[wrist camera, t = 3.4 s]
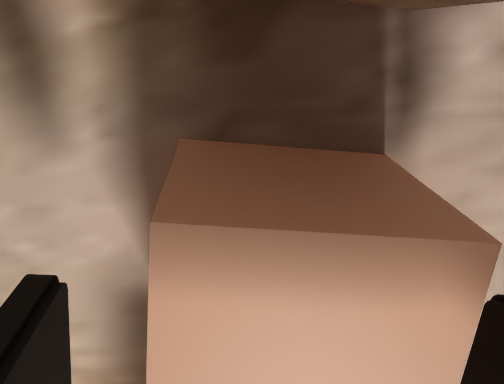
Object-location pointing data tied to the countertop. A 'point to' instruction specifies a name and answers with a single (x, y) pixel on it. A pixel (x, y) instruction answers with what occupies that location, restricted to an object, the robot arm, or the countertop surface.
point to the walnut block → (418, 3)
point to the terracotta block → (308, 270)
